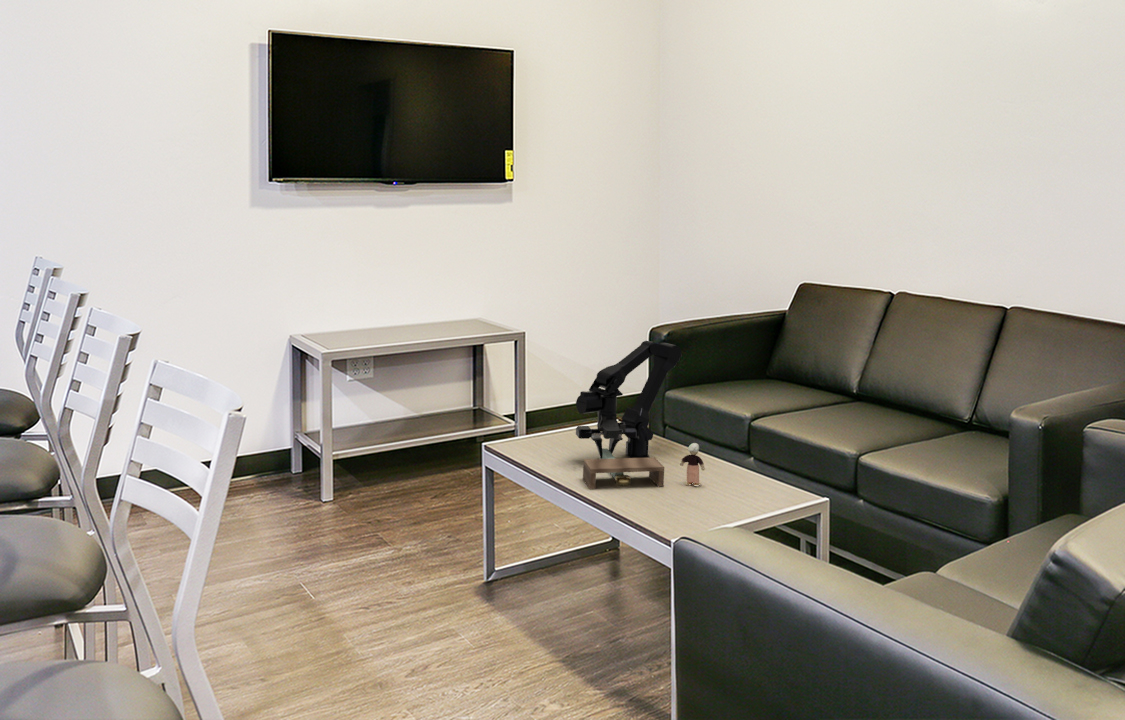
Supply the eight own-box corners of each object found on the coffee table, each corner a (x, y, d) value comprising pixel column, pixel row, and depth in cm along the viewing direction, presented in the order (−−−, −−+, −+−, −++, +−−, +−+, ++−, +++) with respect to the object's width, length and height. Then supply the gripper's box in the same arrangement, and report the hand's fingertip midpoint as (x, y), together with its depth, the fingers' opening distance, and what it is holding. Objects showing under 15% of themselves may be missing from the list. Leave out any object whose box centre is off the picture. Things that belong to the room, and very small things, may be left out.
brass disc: (628, 480, 283) (628, 474, 282) (632, 485, 278) (632, 479, 278) (613, 481, 282) (613, 474, 281) (617, 486, 277) (617, 479, 277)
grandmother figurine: (705, 484, 281) (708, 443, 278) (703, 488, 277) (705, 446, 275) (680, 481, 283) (682, 440, 281) (677, 484, 279) (679, 443, 277)
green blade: (606, 458, 304) (607, 448, 304) (623, 479, 283) (623, 468, 282) (599, 459, 304) (599, 448, 303) (615, 479, 282) (615, 468, 282)
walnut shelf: (653, 476, 287) (654, 457, 286) (663, 486, 277) (664, 467, 276) (582, 478, 283) (583, 459, 282) (590, 489, 273) (590, 469, 272)
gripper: (583, 416, 289) (581, 466, 291) (642, 415, 292) (640, 464, 295) (576, 408, 299) (574, 456, 302) (633, 407, 303) (631, 454, 305)
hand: (605, 458), depth 301 cm, fingers closed on green blade, 2 cm apart
